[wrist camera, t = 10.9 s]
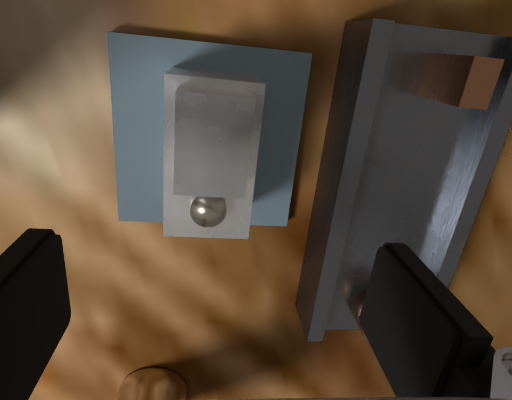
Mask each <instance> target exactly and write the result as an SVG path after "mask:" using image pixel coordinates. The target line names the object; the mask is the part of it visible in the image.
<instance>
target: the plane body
mask: <svg viewBox="0 0 512 400" xmlns="http://www.w3.org/2000/svg"><path fill="white" fill-rule="evenodd" d="M511 123H512V37H506V36H497V35H489V34H481V33H473V32H465V31H457V30H448V29H440V28H432V27H424V26H416V25H408V24H400V23H395V21H393V20H385V19H377V18H370V19H362V20H354V21H346V22H345V28H344V33H343V39H342V45H341V50H340V56H339V62H338V67H337V73H336V78H335V84H334V90H333V95H332V101H331V107H330V112H329V118H328V124H327V129H326V135H325V140H324V146H323V152H322V157H321V163H320V169H319V174H318V180H317V185H316V191H315V197H314V202H313V208H312V214H311V219H310V225H309V231H308V236H307V242H306V247H305V253H304V259H303V264H302V270H301V276H300V281H299V287H298V292H297V298H296V304H295V305H296V308H297V311H298V314H299V317H300V320H301V324H302V327H303V330H304V333H305V336H306V339H307V342H319V341H323V337H324V333H325V330H355V329H360V330H361V332H362V334H363V336H364V338H365V340H366V342H367V344H368V345H369V346H370V344H369V342H368V340H367V338H366V336H365V334H364V332H363V330H362V327H361V324H360V314H361V310H362V306H363V303H364V299H365V295H366V291H367V287H368V284H369V280H370V276H371V272H372V268H373V265H374V261H375V257H376V253H377V250H378V248H379V247H383V245H384V244H385V243H405V244H406V245H407V246H408V247H409V248H410V249H411V250H412V251H413V252H414V253H415V254H416V255H417V256H418V257H419V258H420V260H421V261H422V262H423V263H424V264H425V265H426V266H427V267H428V268H429V269H430V270H431V271H432V272H433V273H434V274H435V276H436V277H437V278H438V279H439V280H440V281H441V282H442V283H443V284H444V285H445V286H446V287H447V288H449V285H450V283H451V280H452V277H453V275H454V272H455V269H456V267H457V264H458V262H459V259H460V256H461V254H462V251H463V248H464V246H465V243H466V241H467V238H468V235H469V233H470V230H471V227H472V225H473V222H474V220H475V217H476V214H477V212H478V209H479V207H480V204H481V201H482V199H483V196H484V193H485V191H486V188H487V186H488V183H489V180H490V178H491V175H492V172H493V170H494V167H495V165H496V162H497V159H498V157H499V154H500V151H501V149H502V146H503V144H504V141H505V138H506V136H507V133H508V130H509V128H510V125H511ZM370 347H371V346H370Z"/></svg>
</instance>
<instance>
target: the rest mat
mask: <svg viewBox="0 0 512 400" xmlns="http://www.w3.org/2000/svg"><path fill="white" fill-rule="evenodd" d="M107 33H108V50H109V67H110V83H111V100H112V116H113V133H114V149H115V166H116V182H117V199H118V216H119V221H143V222H163V176H164V73H165V72H167V71H168V70H169V69H171V68H172V67H180V68H190V69H199V70H209V71H218V72H228V73H237V74H247V75H256V76H257V77H258V78H259V79H261V80H262V81H263V82H264V83H266V88H265V96H264V105H263V114H262V123H261V131H260V140H259V149H258V158H257V166H256V175H255V184H254V192H253V201H252V210H251V219H250V225H265V226H287V221H288V215H289V208H290V201H291V195H292V188H293V181H294V174H295V168H296V161H297V154H298V148H299V141H300V134H301V128H302V121H303V114H304V108H305V101H306V94H307V87H308V81H309V74H310V67H311V61H312V54H313V53H306V52H296V51H287V50H277V49H268V48H258V47H249V46H239V45H230V44H220V43H211V42H201V41H192V40H182V39H173V38H163V37H154V36H145V35H135V34H126V33H116V32H107Z"/></svg>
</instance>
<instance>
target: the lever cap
mask: <svg viewBox="0 0 512 400" xmlns="http://www.w3.org/2000/svg"><path fill="white" fill-rule="evenodd" d="M265 88H266V83H264V82H263V81H262V80H261V79H259V78H258V77H257V76H256V75H247V74H237V73H228V72H218V71H209V70H199V69H190V68H180V67H172V68H171V69H169V70H168V71H167V72H165V73H164V176H163V236H179V237H207V238H234V239H248V236H249V227H250V219H251V210H252V201H253V192H254V184H255V175H256V166H257V158H258V149H259V140H260V131H261V123H262V114H263V105H264V96H265Z"/></svg>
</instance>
